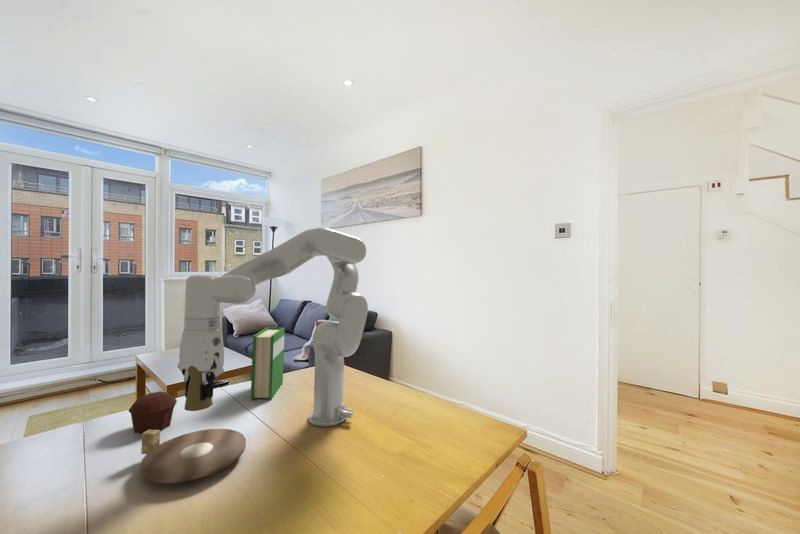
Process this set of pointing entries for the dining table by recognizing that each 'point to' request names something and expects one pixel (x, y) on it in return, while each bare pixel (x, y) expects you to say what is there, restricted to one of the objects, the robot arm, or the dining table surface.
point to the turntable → (189, 454)
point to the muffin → (152, 412)
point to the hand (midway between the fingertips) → (199, 396)
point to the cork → (196, 392)
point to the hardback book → (267, 363)
